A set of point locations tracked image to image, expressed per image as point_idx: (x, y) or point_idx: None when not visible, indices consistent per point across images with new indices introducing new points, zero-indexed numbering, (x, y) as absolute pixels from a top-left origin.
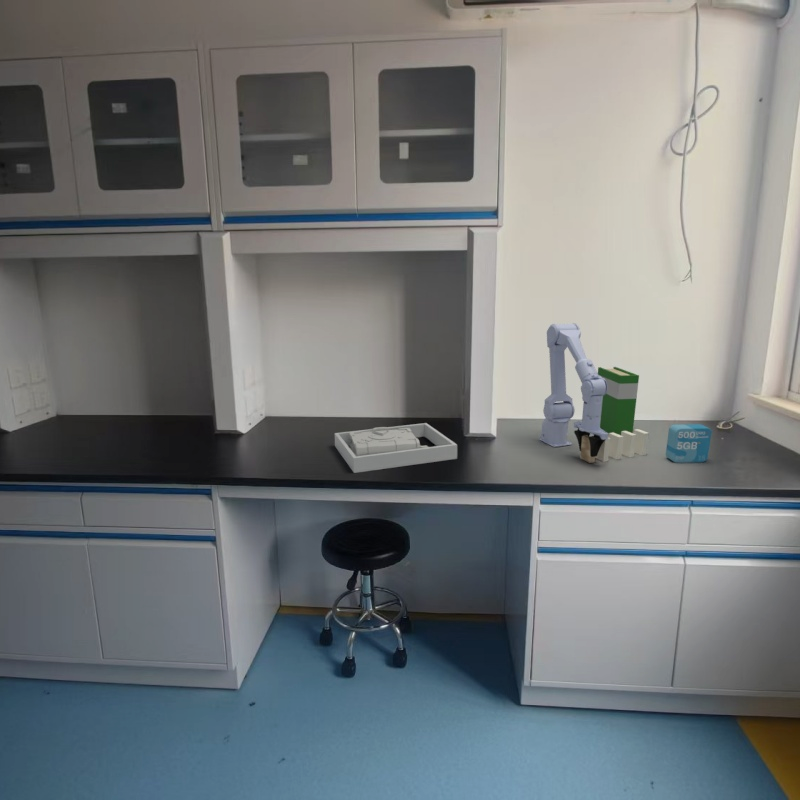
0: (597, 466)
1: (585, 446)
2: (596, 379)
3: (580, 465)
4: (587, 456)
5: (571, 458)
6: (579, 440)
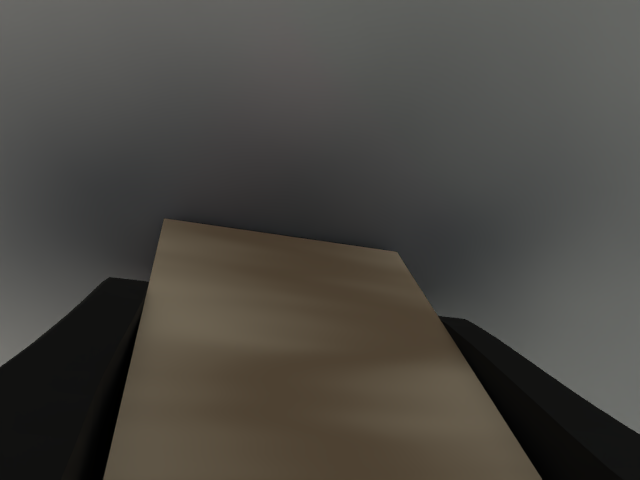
0: (8, 227)
1: (351, 398)
2: None
3: (182, 4)
4: (237, 271)
5: (490, 148)
6: (602, 454)
